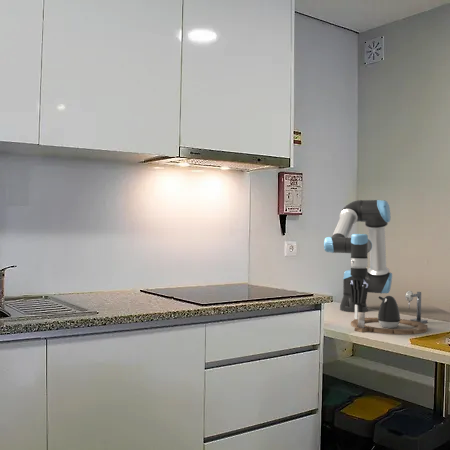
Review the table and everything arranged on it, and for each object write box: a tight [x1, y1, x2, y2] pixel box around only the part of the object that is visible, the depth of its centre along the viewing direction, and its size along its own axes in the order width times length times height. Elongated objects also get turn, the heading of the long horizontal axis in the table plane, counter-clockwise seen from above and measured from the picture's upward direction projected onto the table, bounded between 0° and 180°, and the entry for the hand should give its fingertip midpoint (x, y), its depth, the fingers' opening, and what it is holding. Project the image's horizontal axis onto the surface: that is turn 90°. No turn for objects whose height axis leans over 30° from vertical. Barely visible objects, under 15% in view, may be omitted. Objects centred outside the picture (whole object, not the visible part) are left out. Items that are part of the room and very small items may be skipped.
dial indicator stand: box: [404, 290, 428, 324], centre depth 274 cm, size 14×6×16 cm, turn 126°
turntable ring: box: [350, 311, 428, 335], centre depth 261 cm, size 34×38×8 cm
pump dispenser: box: [377, 295, 401, 329], centre depth 262 cm, size 10×10×15 cm
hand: (358, 318), depth 253 cm, fingers closed
